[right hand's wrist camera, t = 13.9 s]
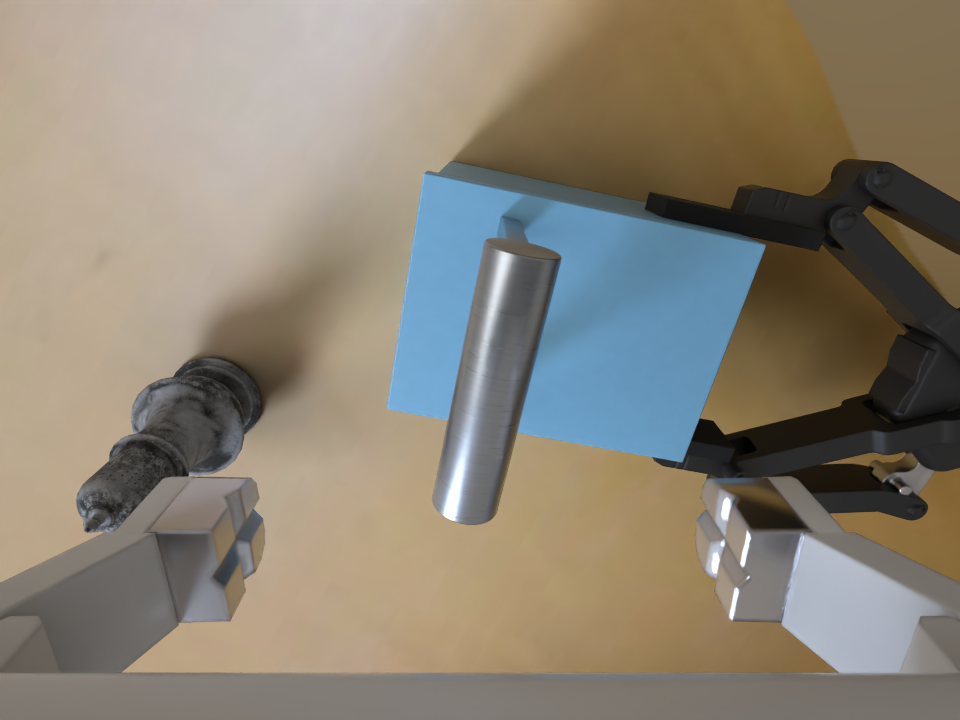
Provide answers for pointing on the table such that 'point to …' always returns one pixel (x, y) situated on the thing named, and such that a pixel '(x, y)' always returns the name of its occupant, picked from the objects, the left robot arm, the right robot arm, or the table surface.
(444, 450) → the lid
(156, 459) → the dark grey turned figure
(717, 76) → the table surface
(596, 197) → the chest
